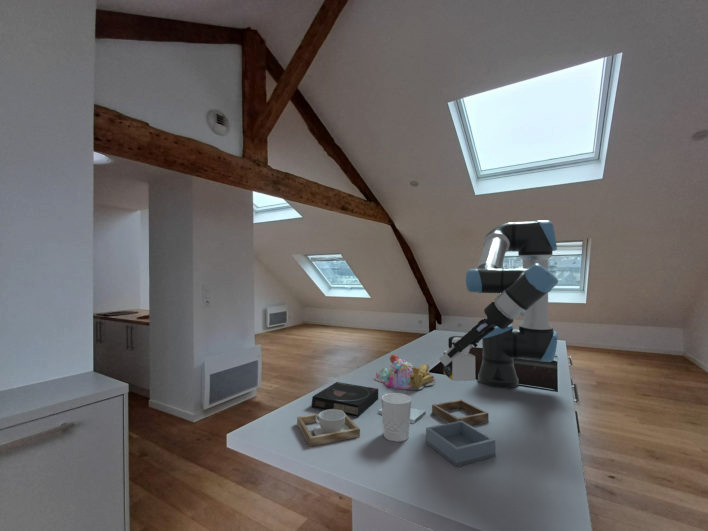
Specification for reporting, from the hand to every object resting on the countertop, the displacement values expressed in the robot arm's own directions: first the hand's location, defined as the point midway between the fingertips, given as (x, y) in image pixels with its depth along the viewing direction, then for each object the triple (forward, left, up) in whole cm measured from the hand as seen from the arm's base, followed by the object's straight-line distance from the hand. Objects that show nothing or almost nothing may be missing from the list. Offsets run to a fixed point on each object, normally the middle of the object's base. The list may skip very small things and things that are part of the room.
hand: (448, 358), depth 101 cm
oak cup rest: (+37, -6, -18) cm, 41 cm away
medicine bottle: (-2, +3, -5) cm, 6 cm away
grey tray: (+10, +16, -18) cm, 26 cm away
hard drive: (+12, -8, -18) cm, 23 cm away
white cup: (+21, +4, -18) cm, 28 cm away
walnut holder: (-3, +1, -18) cm, 18 cm away
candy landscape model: (-6, -36, -18) cm, 41 cm away
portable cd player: (+25, -22, -18) cm, 38 cm away
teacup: (+36, -5, -18) cm, 41 cm away
